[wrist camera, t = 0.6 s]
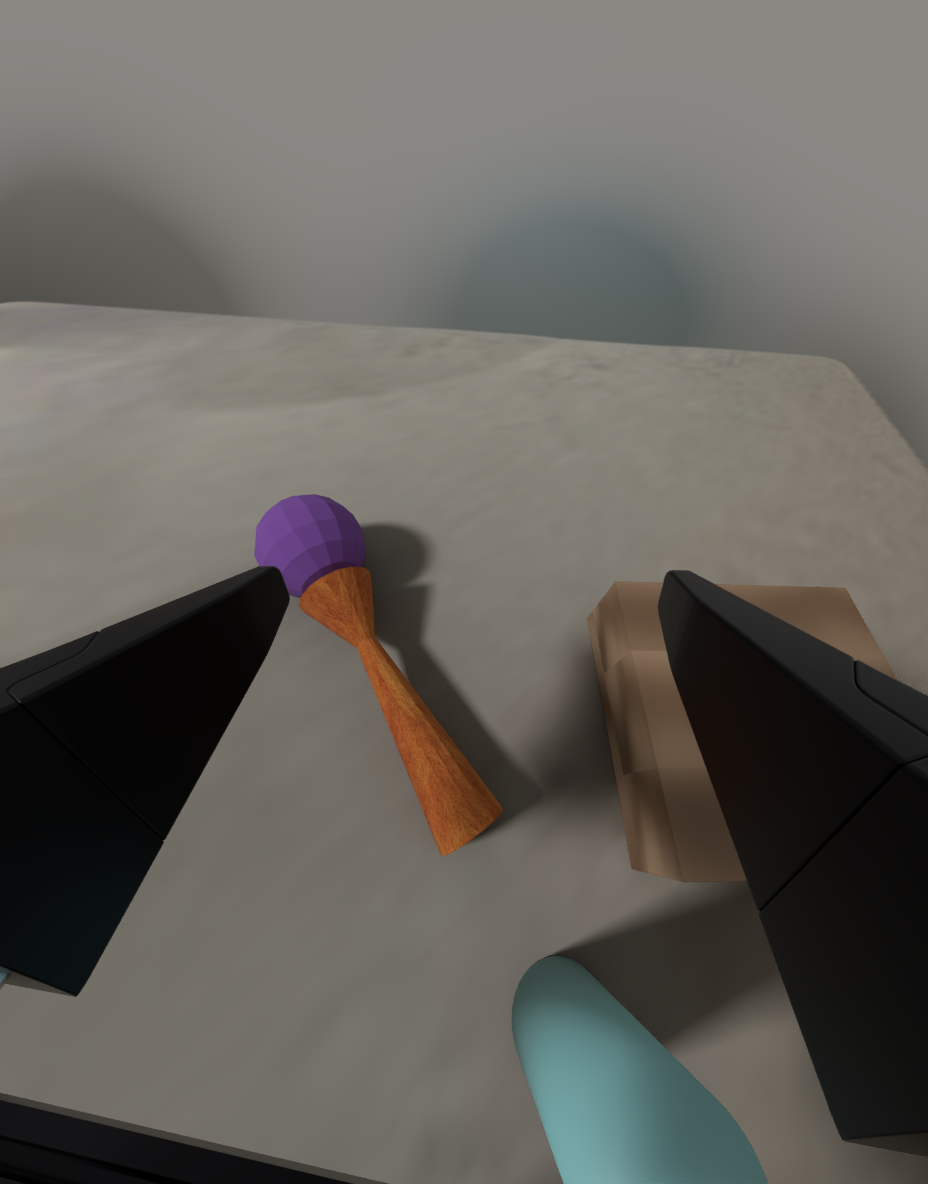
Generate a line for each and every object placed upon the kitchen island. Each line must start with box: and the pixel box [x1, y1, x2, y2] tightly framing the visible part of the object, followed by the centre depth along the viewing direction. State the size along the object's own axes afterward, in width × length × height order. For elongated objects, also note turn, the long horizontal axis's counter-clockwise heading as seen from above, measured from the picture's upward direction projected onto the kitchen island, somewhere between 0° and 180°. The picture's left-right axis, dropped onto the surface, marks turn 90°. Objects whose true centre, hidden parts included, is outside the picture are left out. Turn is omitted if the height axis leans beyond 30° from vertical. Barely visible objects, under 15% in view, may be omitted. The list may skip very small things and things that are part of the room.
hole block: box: [587, 581, 897, 882], centre depth 20 cm, size 13×13×4 cm
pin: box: [512, 956, 768, 1184], centre depth 12 cm, size 4×4×9 cm
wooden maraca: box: [254, 494, 503, 856], centre depth 21 cm, size 6×6×20 cm
